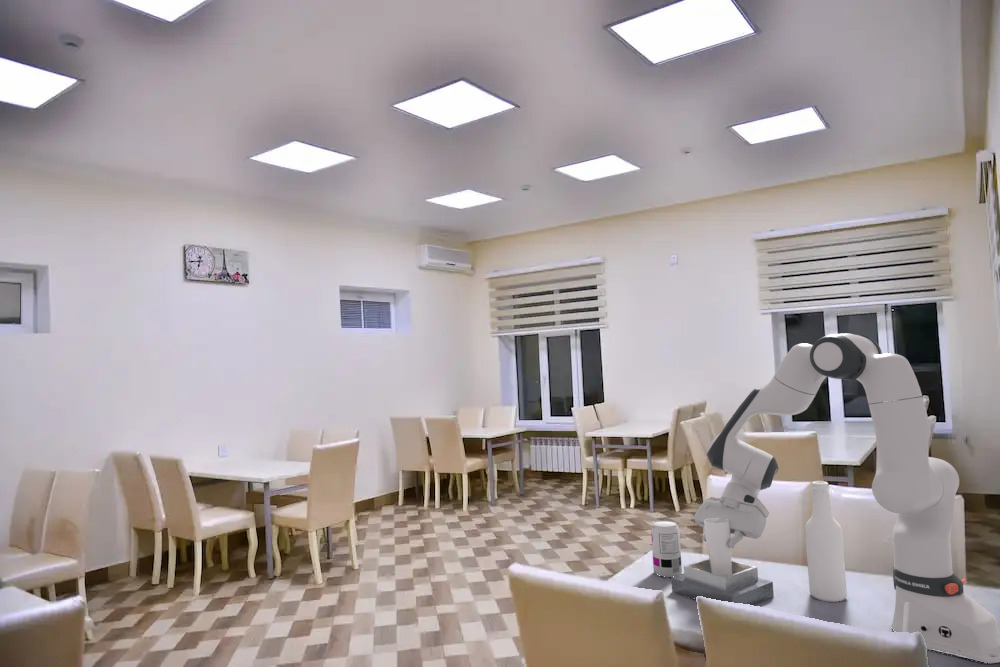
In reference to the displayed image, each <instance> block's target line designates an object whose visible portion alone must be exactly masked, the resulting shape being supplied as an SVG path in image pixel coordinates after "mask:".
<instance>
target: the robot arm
mask: <svg viewBox="0 0 1000 667" xmlns="http://www.w3.org/2000/svg"><path fill="white" fill-rule="evenodd" d="M827 378H831V379H836V380H845V381H855V380H857V381H858V382H859V383H860V384H862V386H863V389H864V391H865V396H866V399H867V404H868V408H869V412H870V416H871V421H872V424H873V429H874V432H875V441H876V443H875V444H876V463H875V464H876V466H875V468H876V470H875V475H874V477H873V480H872V483H871V491H872V495H873V497H874V500H876V503H877V504H878V505H879V506H880V507H882V508H883V509H884V510H886V511H888V512H890V513H894V514H897V519H896V522H895V525H894V527H893V531H892V536H891V537H892V547H893V550H892V551H893V559H894V562H893V563H894V565H893V566H892V580H893V587H894V588H893V589H894V590H895V603H894V613H893V616H892V617H893V618H892V623H891V626H890V628H891V627H892V628H893V629H894V631H896V632H909V633H913V632H917V631H918V632H921V634H922V635H923V637H924V639H925V643H926V646H927V649H926V650H928V649H929V650H928V651H931V650H932V649H935V650H940V651H943V652H949V653H953V654H958V655H962V656H966V657H969V658H973V659H975V660H977V661H981V662H984V663H983V664H987V663H988V664H997V663H1000V627H999V624H998V622H997V619H996V617H995V616H994V614H992V613H991V612H989V611H988V609H986V608H984V607H983V606H982V605H980V604H979V603H978V602H977V601H975V600H974V599H973V598H972V597H970V596H969V595H968V594H967V593H965V591H964V585H965V584H967V582H966V580H967V579H966V577H965V578H962V579H960V578H959V577H958V576H957V575H956V574H955V572H953V560H952V546H951V535H952V534H951V533H952V524H953V516H954V508H955V498H956V494H957V491H958V489H959V486H960V477H959V474H958V471H957V470H956V468H955V467H954V466H953V465H952V464H951V463H950V462H947V461H946V460H944V459H941V458H939V457H937V458H936V457H931V456H929V446H930V445H929V442H930V436H931V433H932V428H931V425H930V424H931V423H930V420H929V416H928V413H927V409H926V405H925V401H924V397H923V393H922V391H921V387H920V385H919V382H918V379H917V376H916V375H915V372H914V370H913V367H912V366H911V364H910V362H909V360H908V359H907V358H906V357H905V356H903V355H901V354H898V353H889V352H885V353H882V349H881V347H880V345H879V344H878V343H877V342H876V341H875V339H872V338H871V337H869V336H867V335H863V334H854V333H849V332H848V333H846V332H845V333H832V334H827V335H824V336H823V337H821V338H819V339H817V341H815V342H814V343H813V344H810V343H798V344H795V345H793V346H792V347H791V348H790V349H789V351H788V352H787V353H786V355H785V356H784V357H783V359H782V360H781V363H780V364H779V365H778V367H777V368H776V371H775V373H774V375H773V377H772V379H771V380H770V381H769V382H768V383H767V384H765V385H764V386H763V387H755V388H754V389H752V391H750V392H749V394H748V395H747V397H746V398H745V399H744V400H743V402H741V404H740V405H739V406H738V408H737V409H736V411H735V412H734V413H733V415H732V416H731V417H730V418H729V420H728V421H727V423H726V424H725V426H724V427H723V429H722V431H720V432H719V433H718V434H717V435H716V436H715V437H714V438H713V439H712V441H711V442H710V443H709V445H708V447H707V450H706V451H707V452H706V457H707V459H708V462H709V463H710V464H711V466H712V467H713V468H716V469H718V470H720V471H723V472H724V471H725V472H726V473H728V474H731V478H730V480H729V482H727V484H726V486H725V488H724V490H723V492H722V494H721V496H720V497H714V496H711V497H708V498H705V499H704V501H703V502H702V503H701V505H700V506H699V507H698V508H697V510H696V512H695V514H694V515H693V516H694V517H693V520H694V522H695V523H696V524H697V525H698V526H699V527H701V528H703V533H704V534H703V536H702V540H703V542H705V543H706V537H705V529H704V520H706V519H710V518H720V519H718V520H716V521H715V522H714V523H725V522H728V521H727V520H726V519H728V520H729V523H730V530H731V535H732V534H733V536H731V539H728V541H727V542H726V545H727V546H728V547H729V548H731V549H734V548H735V546H736V545H737V543H739V542H740V541H742V540H743V539H744V537H747V538H750V539H755V540H756V539H757V540H758V539H759V538H760V537H761V536H762V535H763V533H764V531H765V528H766V524H767V518H768V517H769V516H770V512H769V510H768V509H767V507H766V506H765V504H764V503H763V502H762V500H760V499H759V498H758V497H759V493H760V491H763V490H767V489H769V488H770V487H771V486H772V483H773V479H774V477H775V475H777V473H778V471H779V464H778V462H777V459H776V458H775V456H774V455H772V454H770V453H768V452H766V451H765V450H762V449H760V448H757V447H755V446H754V445H751V444H749V443H747V442H745V441H743V440H741V439H739V438H738V434H740V432H741V430H742V429H743V428H744V426H746V424H747V422H748V421H749V420H750V418H752V417H755V416H756V415H773V416H775V415H776V416H795V415H798V414H801V413H803V412H804V411H806V410H808V408H809V407H810V405H811V404H812V402H813V401H814V398H816V395H817V393H818V391H819V390H820V387H821V385H822V383H823V382H824V381H825V379H827ZM930 649H931V650H930ZM977 661H976V662H977ZM981 662H980V663H981Z"/></svg>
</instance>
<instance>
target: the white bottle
mask: <svg viewBox="0 0 1000 667" xmlns="http://www.w3.org/2000/svg"><path fill="white" fill-rule="evenodd" d="M811 489H812V509H811V510H812V514H811V517H809V519H808V520H807V522H806V524H805V528H804V529H805V530H804V532H805V546H806V557H807V573H808V576H807V577H808V586H809V593H810V595H811V596H812V597H813V598H814V599H816V600H818V601H821V602H826V603H827V602H829V603H840V602H843V601H845V599H846V598H847V596H848V594H847V593H848V592H847V579H846V567H845V566H846V565H845V554H844V540H843V529H842V526H841V525H840V523H839V522H838V521H837V520H836V518H834V516H833V512H832V506H831V498H830V493H829V489H830V487H829V482H828V481H824V480H816V481H812V482H811ZM839 601H840V602H839Z"/></svg>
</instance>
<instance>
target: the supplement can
mask: <svg viewBox="0 0 1000 667" xmlns="http://www.w3.org/2000/svg"><path fill="white" fill-rule="evenodd" d="M650 532H651V547H652V548H651V549H652V550H651V552H652V564H653V565H652V566H653V573H654V574H655V575H656V574H658V575H660V576H665V577H664V578H666V577H673V576H677V575H680V574H683V573H682V572H683V570H682V569H683V568H682V552H681V537H680V536H681V535H680V528H679V526H678V524H677V522H675V521H672V520H657V521H654V522H653V523H652V526H651V528H650ZM658 575H657V576H658ZM660 576H659V577H660Z"/></svg>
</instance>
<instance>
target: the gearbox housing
mask: <svg viewBox="0 0 1000 667" xmlns="http://www.w3.org/2000/svg"><path fill="white" fill-rule="evenodd" d="M670 579H671V580H670V581H671V592H672V593H674V592H675V593H674V594H676V593H677V595H679V594H680V595H679V596H682V597H685V596H686V598H688V597H689V599H691V598H695V600H694V601H696V597H697V596H703V597H706V598H711V599H716V600H721V601H728V602H734V603H743V604H750V605H753V606H754V605H755V606H756V605H757V604H760V603H762V602H765V601H767V600H769V599H771V598H774V596H775V595H774V584H773V583H774V582H773V581H772V580H768V579H764V578H762V577H759V572H758V567H757V566H755V565H752V564H748V563H744V562H740V561H736V560H734V559H732V575H729V576H726V577H722V576H719V575H716V574H712V572H711V565H710V559H709V557H707V558H704V559H701V560H697V561H695V562H693V563H689V564H686V565H683V573H681V574H680V575H677V576H674V577H671V578H670Z"/></svg>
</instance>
